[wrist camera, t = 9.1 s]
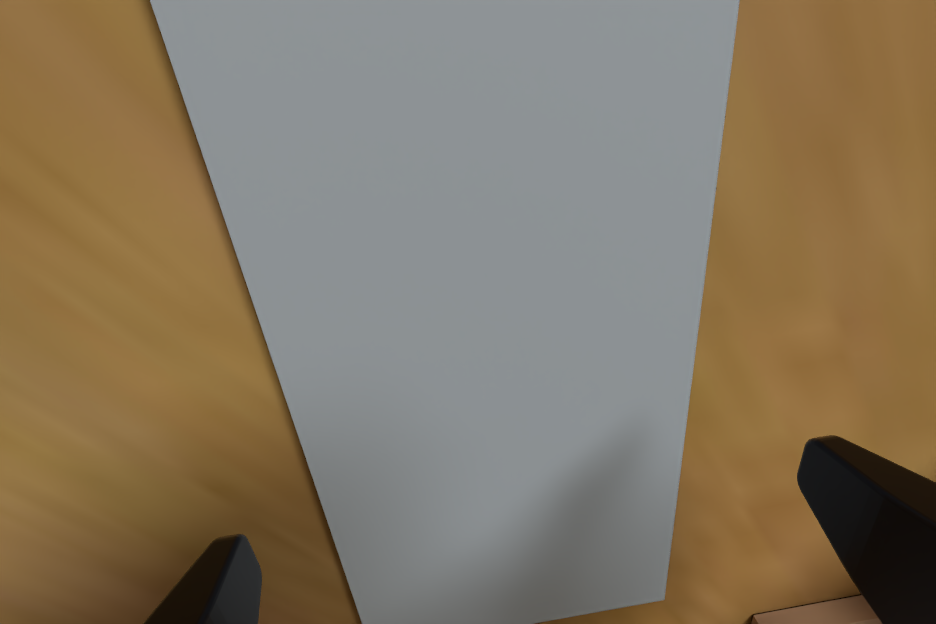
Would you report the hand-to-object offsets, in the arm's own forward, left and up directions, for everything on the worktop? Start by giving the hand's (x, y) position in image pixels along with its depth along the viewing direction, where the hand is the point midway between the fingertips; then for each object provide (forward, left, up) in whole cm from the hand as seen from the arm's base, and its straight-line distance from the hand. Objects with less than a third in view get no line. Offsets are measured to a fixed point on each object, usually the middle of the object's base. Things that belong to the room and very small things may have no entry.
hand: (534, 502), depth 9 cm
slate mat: (0, 0, -4) cm, 4 cm away
